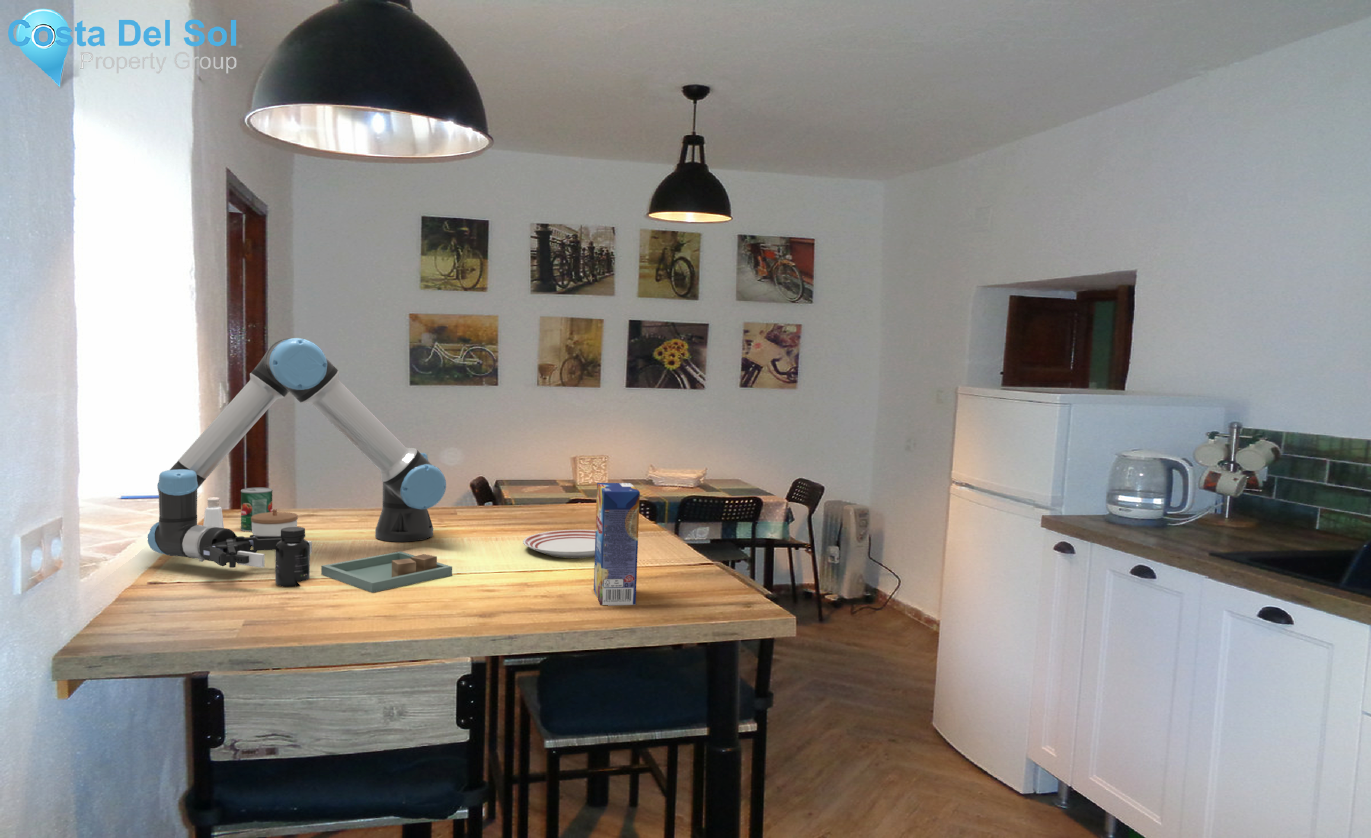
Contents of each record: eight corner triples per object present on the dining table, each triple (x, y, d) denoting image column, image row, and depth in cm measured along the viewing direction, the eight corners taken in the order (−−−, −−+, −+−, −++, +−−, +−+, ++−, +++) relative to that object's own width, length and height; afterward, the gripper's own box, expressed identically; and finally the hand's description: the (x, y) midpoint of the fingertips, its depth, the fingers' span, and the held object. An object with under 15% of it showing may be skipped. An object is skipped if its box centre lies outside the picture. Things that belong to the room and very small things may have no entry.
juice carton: (635, 604, 180) (639, 491, 178) (600, 605, 178) (604, 491, 176) (626, 589, 192) (630, 482, 190) (593, 589, 190) (597, 482, 188)
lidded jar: (305, 542, 224) (306, 507, 223) (282, 551, 213) (282, 514, 212) (266, 540, 225) (267, 504, 224) (241, 549, 214) (241, 512, 214)
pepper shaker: (196, 540, 221) (196, 498, 220) (216, 536, 226) (216, 495, 225) (210, 543, 219) (210, 500, 218) (230, 539, 224) (230, 497, 223)
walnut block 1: (409, 576, 192) (409, 558, 191) (415, 580, 188) (416, 562, 188) (391, 578, 189) (391, 560, 189) (397, 582, 186) (397, 564, 186)
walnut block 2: (423, 571, 196) (423, 553, 196) (436, 573, 194) (436, 556, 194) (410, 574, 193) (410, 557, 192) (423, 577, 191) (423, 559, 191)
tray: (400, 563, 206) (400, 551, 206) (451, 579, 194) (452, 566, 193) (321, 578, 190) (321, 565, 190) (372, 597, 178) (372, 583, 178)
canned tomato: (278, 528, 239) (279, 489, 238) (254, 533, 232) (254, 493, 231) (258, 525, 242) (258, 486, 242) (234, 529, 235) (234, 490, 234)
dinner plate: (506, 558, 216) (506, 545, 216) (543, 536, 243) (543, 525, 243) (611, 567, 211) (612, 554, 211) (637, 544, 238) (638, 532, 238)
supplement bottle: (267, 584, 184) (267, 529, 183) (293, 577, 190) (293, 524, 190) (292, 589, 182) (292, 533, 181) (316, 581, 188) (317, 527, 187)
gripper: (255, 548, 204) (328, 558, 197) (161, 573, 180) (241, 585, 174) (255, 517, 204) (328, 526, 197) (161, 537, 180) (241, 548, 173)
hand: (287, 554), depth 185 cm, fingers open, 13 cm apart
